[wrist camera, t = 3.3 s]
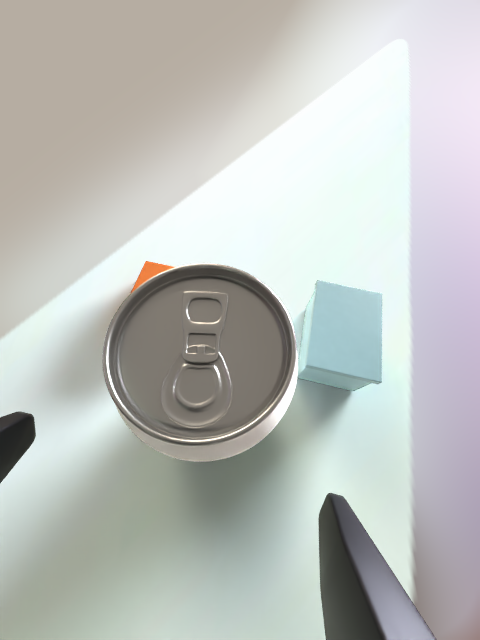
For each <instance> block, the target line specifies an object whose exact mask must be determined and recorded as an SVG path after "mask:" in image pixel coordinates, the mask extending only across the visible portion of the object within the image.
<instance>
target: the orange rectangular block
mask: <svg viewBox="0 0 480 640" xmlns="http://www.w3.org/2000/svg"><path fill="white" fill-rule="evenodd" d="M172 268H175V267H172V266H167V265H162V264H158V263H153V262H148V261H146V262H145V264H144V266H143V268H142V270H141V272H140V275H139V277H138V279H137V281H136V283H135V285H134V287H133V289H132V291H131V293H132V292H133V291H134V290H135V289H136V288H138V287H139V286H140V285H141V284H143V283H144V282H146V281H147V280H149V279H150V278H152V277H154V276H156V275H158V274H160V273H162V272H164V271H167V270H169V269H172Z"/></svg>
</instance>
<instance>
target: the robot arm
mask: <svg viewBox="0 0 480 640" xmlns="http://www.w3.org/2000/svg"><path fill="white" fill-rule="evenodd" d="M35 436H36V433H35V422H34V417H33V415H32V414H28V413H25V412H15V413H12V414H9V415H6V416H3V417H1V418H0V483H1V482H2V481H3V479H4V478H5V477H6V476H7V474H8V473H9V472H10V471H11V469H12V468H13V467H14V466H15V464H16V463H17V462H18V461H19V459H20V458H21V457H22V456H23V454H24V453H25V452H26V451H27V449H28V448H29V447H30V446H31V444H32V443H33V441H34V439H35ZM319 557H320V589H321V599H322V608H323V617H324V626H325V635H326V640H437V639H436V638H435V636H434V635H433V633H432V632H431V630H430V629H429V627H428V625H427V624H426V622H425V621H424V619H423V618H422V617H421V615H420V613H419V612H418V610H417V608H416V607H415V605H414V604H413V602H412V601H411V599H410V598H409V596H408V595H407V593H406V592H405V590H404V589H403V587H402V585H401V584H400V582H399V581H398V579H397V578H396V576H395V575H394V573H393V572H392V570H391V569H390V567H389V565H388V564H387V562H386V561H385V559H384V558H383V556H382V555H381V553H380V552H379V550H378V549H377V547H376V546H375V544H374V542H373V541H372V539H371V538H370V536H369V535H368V533H367V532H366V530H365V529H364V527H363V526H362V524H361V522H360V521H359V519H358V518H357V516H356V515H355V513H354V512H353V510H352V509H351V507H350V506H349V504H348V502H347V501H346V499H345V498H344V497H343V496H340V495H336V494H333V493H328V494H327V496H326V498H325V501H324V503H323V505H322V508H321V510H320V513H319Z"/></svg>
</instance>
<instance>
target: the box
mask: <svg viewBox="0 0 480 640" xmlns="http://www.w3.org/2000/svg"><path fill="white" fill-rule="evenodd" d="M297 378H299V379H304V380H308V381H312V382H316V383H321V384H325V385H329V386H333V387H338V388H342V389H346V390H350V391H355V390H357V389H360V388H362V387H364V386H366V385H368V384H370V383H375V384H379V383H381V382H382V293H377V292H372V291H367V290H363V289H358V288H353V287H348V286H344V285H339V284H334V283H329V282H324V281H320V280H317V282H316V284H315V291H314V293H313V295H312V297H311V299H310V301H309V303H308V305H307V306H306V311H305V318H304V325H303V332H302V339H301V346H300V353H299V360H298V375H297Z"/></svg>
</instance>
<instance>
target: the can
mask: <svg viewBox="0 0 480 640" xmlns="http://www.w3.org/2000/svg"><path fill="white" fill-rule="evenodd" d="M103 371H104V377H105V381H106V385H107V388H108V390H109V393H110V395H111V397H112V399H113V401H114V403H115V405H116V407H117V409H118V412H119V414H120V415H121V417H122V419H123V420H124V422H125V423H126V425H127V426H128V427H129V429H130V430H131V431H132V432H133V433H134V434H135V435H136V436H137V437H138V438H139V439H140V440H141V441H143V442H144V443H145V444H147V445H148V446H150V447H151V448H153V449H155V450H157V451H158V452H160V453H162V454H165V455H167V456H170V457H173V458H176V459H181V460H186V461H196V462H205V461H215V460H221V459H225V458H229V457H232V456H235V455H237V454H239V453H242V452H244V451H246V450H248V449H249V448H251V447H253V446H254V445H256V444H257V443H258V442H260V441H261V440H262V439H263V438H265V437H266V436H267V435H268V434H269V433H270V432H271V431H272V430H273V429H274V428H275V426H276V425H277V424H278V423H279V421H280V420H281V418H282V417H283V415H284V414H285V412H286V410H287V408H288V406H289V404H290V402H291V399H292V397H293V394H294V390H295V387H296V382H297V375H298V357H297V349H296V337H295V332H294V328H293V325H292V322H291V319H290V317H289V314H288V312H287V310H286V309H285V307H284V305H283V304H282V302H281V301H280V299H279V298H278V297H277V296H276V295H275V293H274V292H273V291H272V290H271V289H270V288H269V287H268V286H266V285H265V284H264V283H263V282H261V281H260V280H258V279H257V278H255V277H254V276H252V275H250V274H248V273H246V272H244V271H241V270H239V269H236V268H233V267H229V266H225V265H219V264H209V263H199V264H189V265H184V266H179V267H175V268H172V269H169V270H167V271H164V272H162V273H160V274H158V275H156V276H154V277H152V278H150V279H149V280H147V281H146V282H144V283H143V284H141V285H140V286H139V287H138V288H136V289H135V290H134V291H133V292H132V293H131V294H130V295H129V296H128V297H127V298H126V299H125V301H124V302H123V303H122V304H121V306H120V307H119V309H118V310H117V312H116V313H115V315H114V317H113V319H112V321H111V323H110V325H109V328H108V331H107V334H106V337H105V342H104V347H103Z"/></svg>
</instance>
